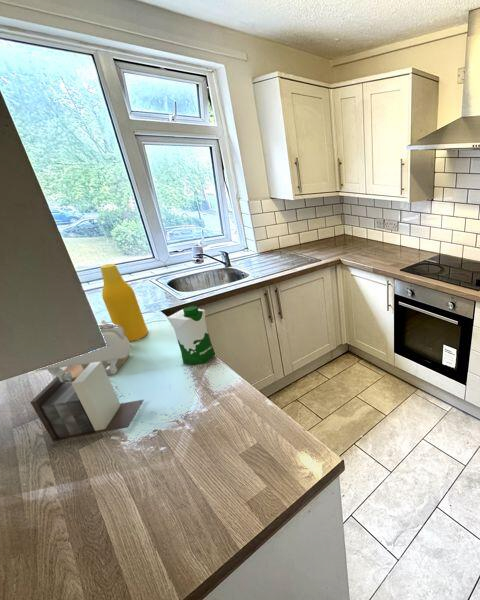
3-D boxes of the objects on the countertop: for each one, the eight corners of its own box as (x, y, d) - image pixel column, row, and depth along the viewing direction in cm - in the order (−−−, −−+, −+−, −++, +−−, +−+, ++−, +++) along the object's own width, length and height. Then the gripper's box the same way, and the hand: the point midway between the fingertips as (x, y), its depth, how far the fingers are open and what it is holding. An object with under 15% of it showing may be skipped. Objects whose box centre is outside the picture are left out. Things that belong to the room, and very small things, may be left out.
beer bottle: (146, 339, 126) (120, 267, 114) (116, 344, 123) (86, 271, 111) (150, 328, 134) (127, 260, 122) (122, 333, 130) (95, 263, 118)
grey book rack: (52, 444, 81) (28, 403, 75) (77, 413, 90) (57, 375, 85) (129, 430, 85) (111, 390, 80) (145, 402, 95) (130, 364, 89)
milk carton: (201, 368, 110) (185, 314, 101) (178, 364, 111) (161, 312, 103) (219, 353, 117) (206, 303, 109) (197, 350, 119) (183, 301, 111)
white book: (95, 430, 83) (71, 383, 77) (111, 407, 91) (91, 362, 85) (105, 428, 84) (82, 381, 78) (120, 405, 92) (101, 360, 86)
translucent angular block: (54, 383, 102) (35, 347, 97) (74, 363, 111) (58, 330, 106) (115, 374, 106) (101, 339, 101) (129, 355, 116) (117, 323, 111)
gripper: (125, 316, 82) (143, 362, 88) (22, 328, 77) (48, 376, 82) (114, 328, 77) (133, 376, 82) (1, 342, 71) (31, 392, 77)
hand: (90, 376), depth 82 cm, fingers open, 8 cm apart
